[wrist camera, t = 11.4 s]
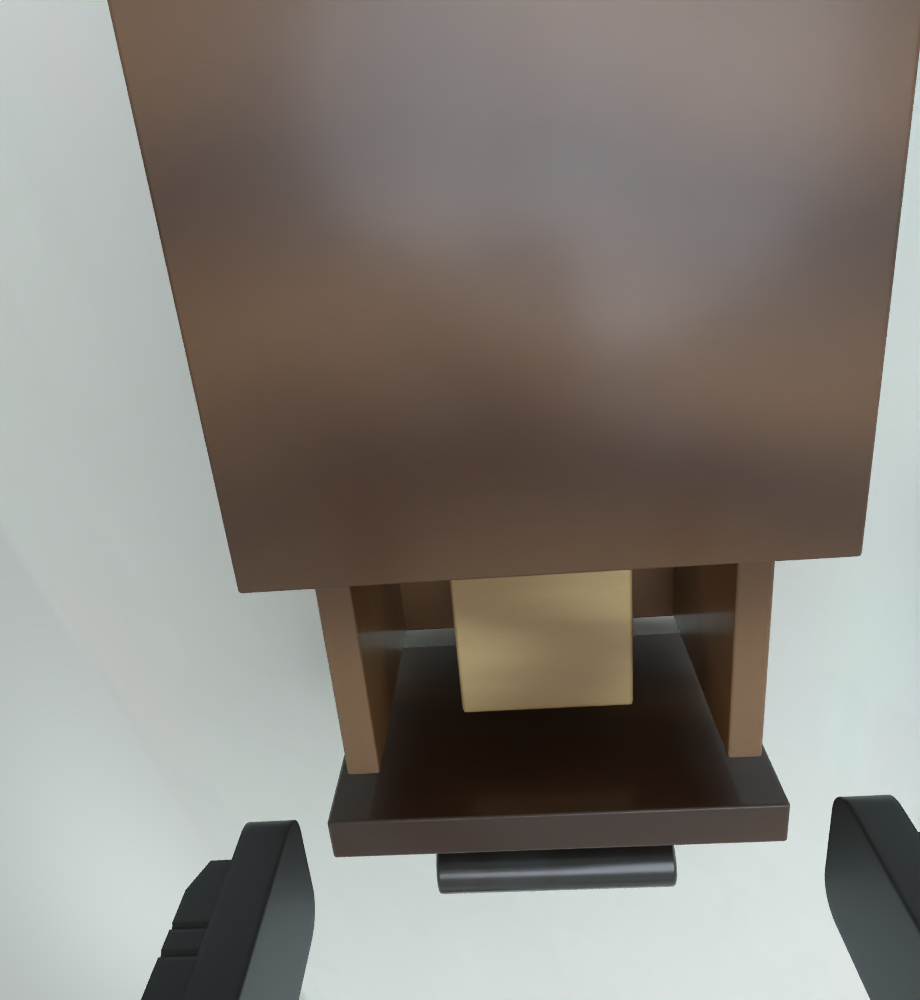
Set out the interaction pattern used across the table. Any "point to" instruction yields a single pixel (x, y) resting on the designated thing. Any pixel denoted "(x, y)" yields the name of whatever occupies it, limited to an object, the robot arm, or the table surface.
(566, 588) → the maple cube
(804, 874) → the table surface
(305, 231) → the cabinet
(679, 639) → the drawer
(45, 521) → the table surface
